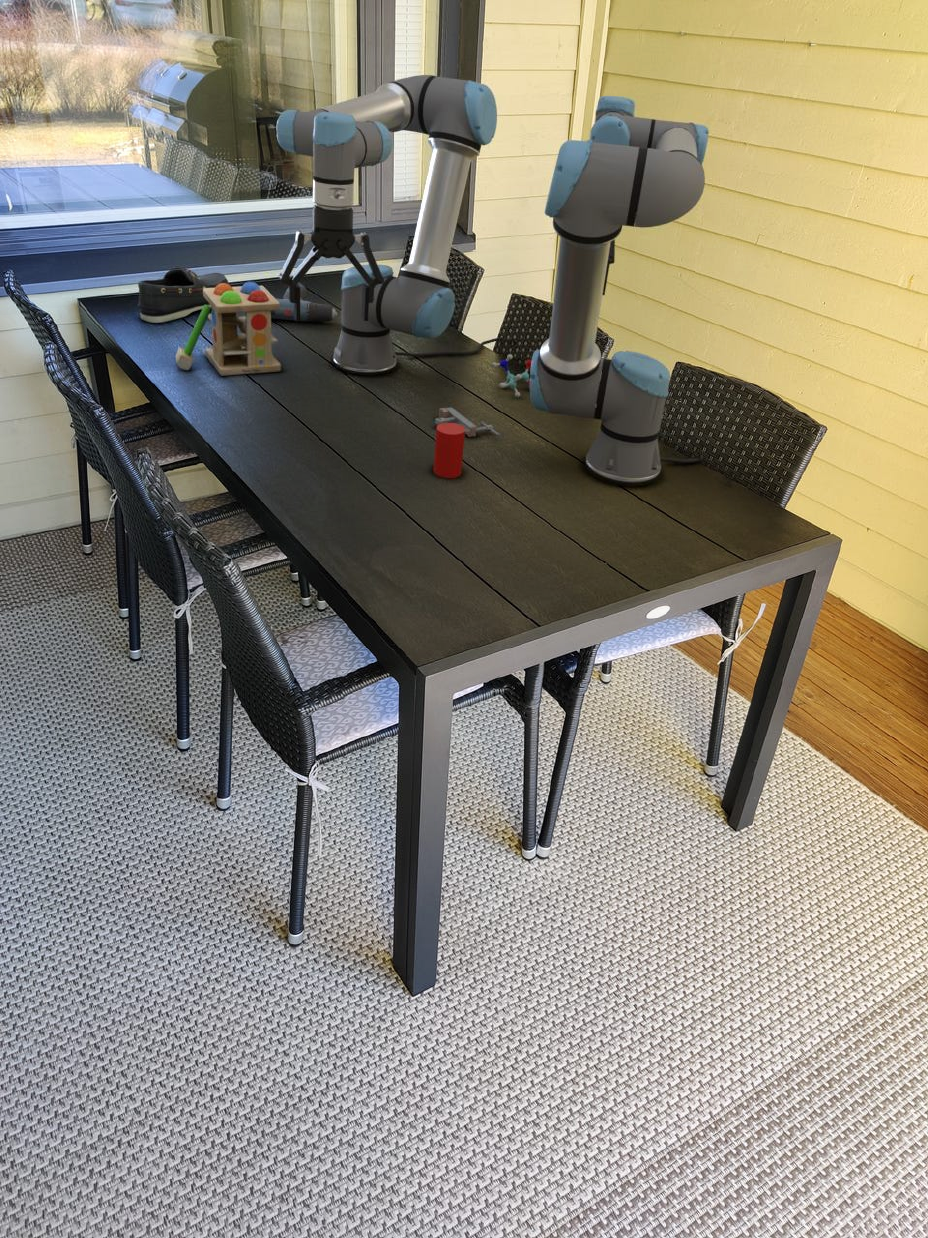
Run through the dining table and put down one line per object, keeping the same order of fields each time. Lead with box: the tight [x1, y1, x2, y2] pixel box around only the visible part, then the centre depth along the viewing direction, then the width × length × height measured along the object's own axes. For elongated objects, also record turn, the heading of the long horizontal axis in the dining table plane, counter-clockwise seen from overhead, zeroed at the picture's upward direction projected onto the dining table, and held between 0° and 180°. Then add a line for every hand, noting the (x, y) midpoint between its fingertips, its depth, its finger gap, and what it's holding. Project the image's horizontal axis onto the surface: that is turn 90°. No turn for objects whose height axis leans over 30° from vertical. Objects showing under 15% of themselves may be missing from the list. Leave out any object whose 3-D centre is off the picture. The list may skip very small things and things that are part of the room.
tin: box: [432, 422, 466, 479], centre depth 191 cm, size 6×6×9 cm
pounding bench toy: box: [174, 281, 282, 377], centre depth 225 cm, size 23×14×18 cm, turn 116°
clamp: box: [434, 407, 502, 438], centre depth 210 cm, size 15×2×10 cm
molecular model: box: [491, 353, 532, 398], centre depth 230 cm, size 12×10×10 cm
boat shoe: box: [137, 266, 230, 324], centre depth 260 cm, size 13×33×10 cm, turn 147°
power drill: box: [271, 282, 338, 322], centre depth 265 cm, size 5×19×20 cm
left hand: (331, 319), depth 195 cm, fingers open, 13 cm apart
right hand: (588, 285), depth 214 cm, fingers open, 13 cm apart
